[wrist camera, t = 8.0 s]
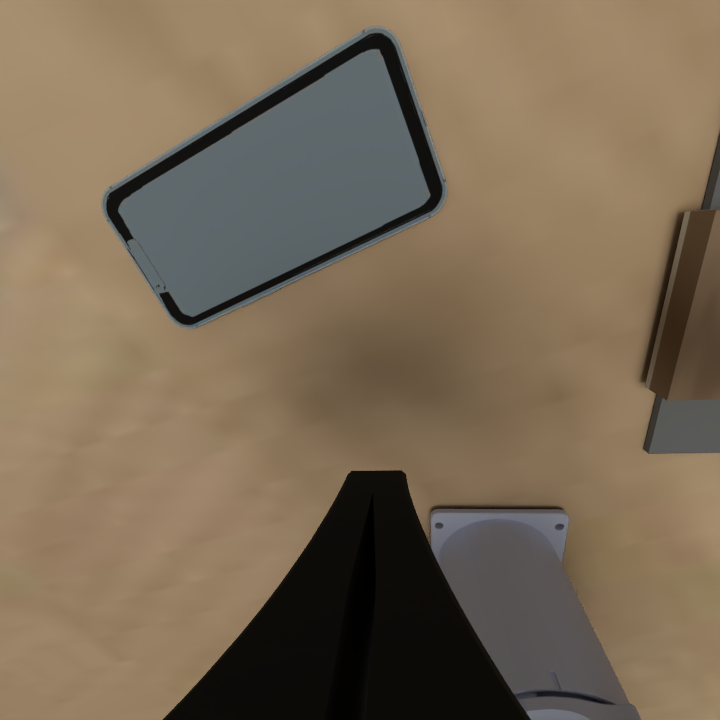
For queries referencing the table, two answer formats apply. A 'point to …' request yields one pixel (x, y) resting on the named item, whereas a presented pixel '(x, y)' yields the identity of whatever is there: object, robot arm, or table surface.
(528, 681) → the robot arm
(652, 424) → the mat
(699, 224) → the brown wooden block
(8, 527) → the table surface
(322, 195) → the smartphone
